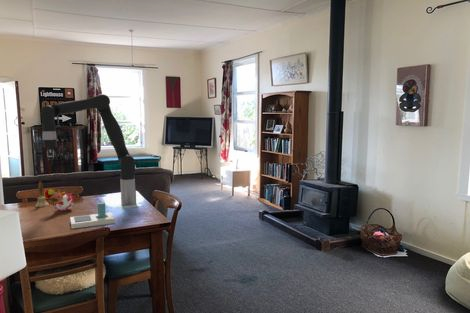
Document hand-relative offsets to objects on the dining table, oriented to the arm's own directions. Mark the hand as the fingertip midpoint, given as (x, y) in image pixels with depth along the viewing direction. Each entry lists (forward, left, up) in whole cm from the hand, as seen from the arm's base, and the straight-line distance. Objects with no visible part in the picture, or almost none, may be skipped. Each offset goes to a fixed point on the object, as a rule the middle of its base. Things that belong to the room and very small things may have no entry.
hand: (51, 165), depth 219 cm
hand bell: (+7, -22, -30) cm, 38 cm away
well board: (-19, +35, -29) cm, 49 cm away
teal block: (-24, +35, -29) cm, 51 cm away
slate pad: (-14, +35, -26) cm, 46 cm away
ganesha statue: (-4, 0, -30) cm, 30 cm away
